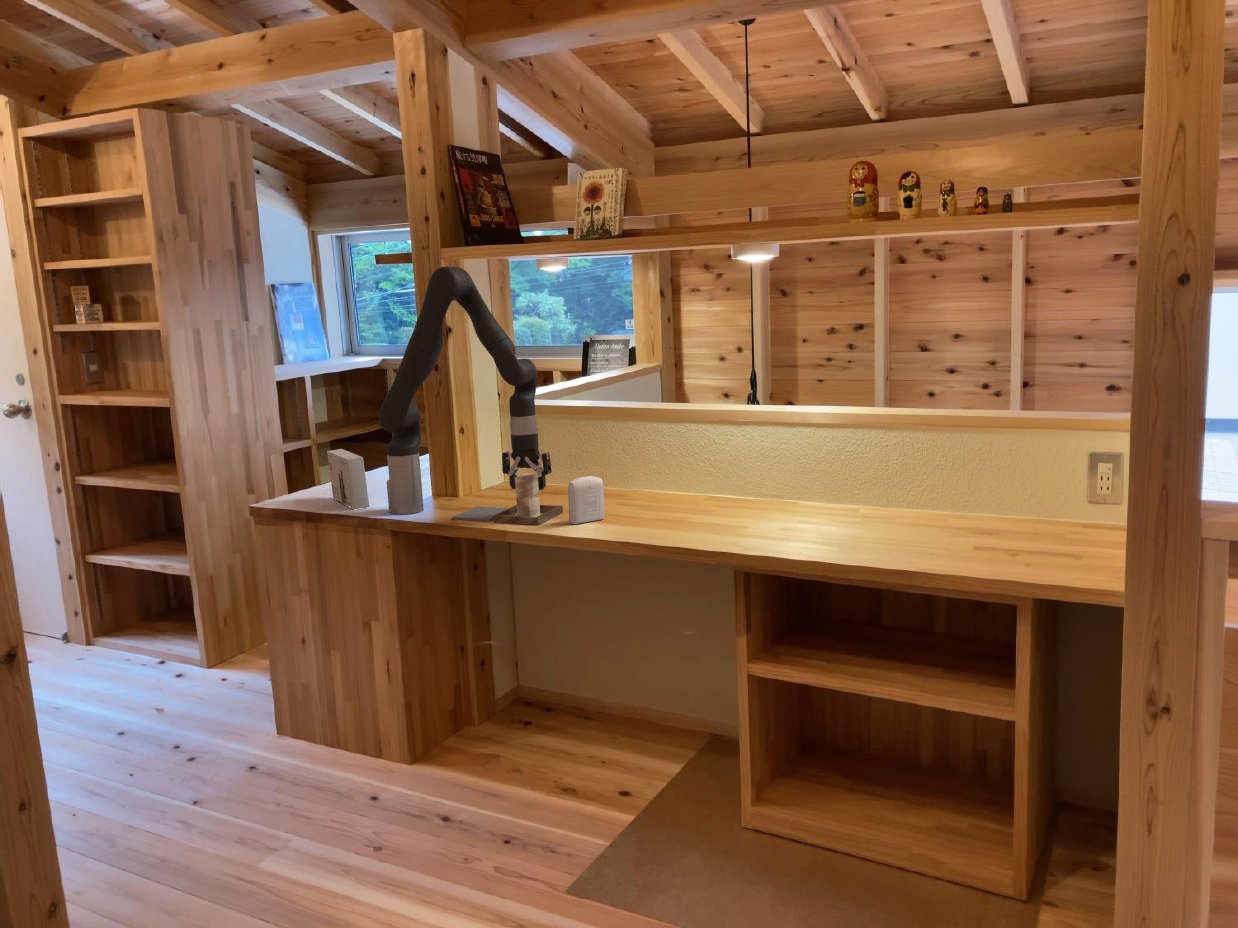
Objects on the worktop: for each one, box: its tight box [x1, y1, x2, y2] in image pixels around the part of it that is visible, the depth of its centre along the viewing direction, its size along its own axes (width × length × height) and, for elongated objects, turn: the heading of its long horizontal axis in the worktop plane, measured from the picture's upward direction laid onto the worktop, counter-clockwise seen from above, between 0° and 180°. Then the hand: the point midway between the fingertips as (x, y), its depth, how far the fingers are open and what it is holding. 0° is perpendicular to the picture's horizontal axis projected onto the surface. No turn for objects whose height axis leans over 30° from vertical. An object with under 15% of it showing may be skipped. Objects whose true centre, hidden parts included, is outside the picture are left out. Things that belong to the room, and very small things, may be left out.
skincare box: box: [326, 448, 370, 510], centre depth 297 cm, size 21×5×16 cm, turn 33°
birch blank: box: [515, 473, 541, 517], centre depth 269 cm, size 4×6×12 cm, turn 157°
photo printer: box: [567, 475, 605, 525], centre depth 262 cm, size 10×4×12 cm, turn 123°
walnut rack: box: [493, 504, 564, 526], centre depth 270 cm, size 14×15×2 cm
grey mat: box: [451, 505, 510, 522], centre depth 276 cm, size 12×14×1 cm
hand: (528, 489), depth 269 cm, fingers open, 8 cm apart
